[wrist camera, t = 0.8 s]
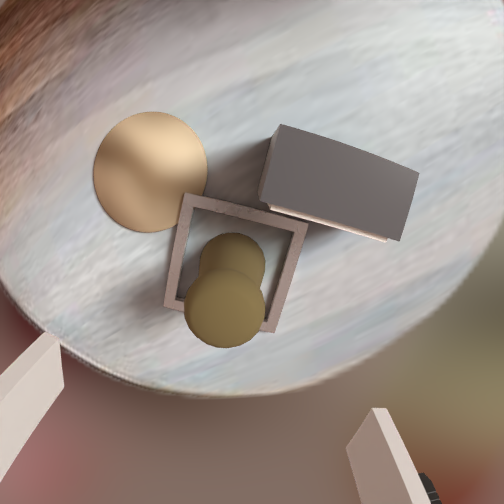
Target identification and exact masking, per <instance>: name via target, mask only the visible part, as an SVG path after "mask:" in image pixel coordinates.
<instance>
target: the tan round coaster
mask: <svg viewBox="0 0 504 504" xmlns="http://www.w3.org/2000/svg"><path fill="white" fill-rule="evenodd" d="M206 180H207V159H206V155H205V151H204V148H203V145H202V143H201V141H200V140H199V138H198V136H197V135H196V133H195V132H194V131H193V130H192V129H191V128H190V127H189V126H188V125H187V124H186V123H184V122H183V121H182V120H180V119H178V118H176V117H174V116H172V115H169V114H166V113H161V112H144V113H139V114H136V115H133V116H130V117H128V118H126V119H124V120H123V121H121V122H120V123H118V124H117V125H116V126H115V127H114V128H113V129H112V130H111V131H110V132H109V133H108V134H107V136H106V137H105V138H104V140H103V142H102V143H101V145H100V147H99V150H98V152H97V155H96V159H95V164H94V185H95V189H96V193H97V196H98V198H99V200H100V202H101V204H102V206H103V207H104V209H105V210H106V212H107V213H108V214H109V215H110V216H111V217H112V218H113V219H114V220H115V221H116V222H118V223H119V224H121V225H123V226H125V227H127V228H129V229H132V230H135V231H140V232H157V231H162V230H165V229H168V228H170V227H172V226H174V225H176V224H178V222H179V217H180V213H181V208H182V203H183V199H184V194H185V192H188V193H192V194H196V195H200V196H202V194H203V192H204V188H205V185H206ZM194 208H195V207H194Z"/></svg>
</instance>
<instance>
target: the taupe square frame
mask: <svg viewBox="0 0 504 504" xmlns="http://www.w3.org/2000/svg"><path fill="white" fill-rule="evenodd" d="M194 207H198V208H202V209H206V210H210V211H214V212H218V213H222V214H226V215H230V216H234V217H238V218H242V219H246V220H250V221H254V222H258V223H262V224H266V225H270V226H274V227H277V228H281V229H285V230H289V231H293V234H292V237H291V241H290V244H289V247H288V251H287V254H286V258H285V261H284V264H283V268H282V271H281V274H280V277H279V281H278V284H277V287H276V291H275V294H274V297H273V300H272V304H271V307H270V310H269V313H268V316H267V318H264V320H263V322H262V325H261V327H260V329H259V330H261V331H266V332H271V333H275V330H276V327H277V324H278V321H279V318H280V315H281V312H282V309H283V306H284V303H285V299H286V296H287V293H288V290H289V287H290V284H291V281H292V278H293V274H294V271H295V268H296V265H297V262H298V258H299V255H300V252H301V248H302V245H303V242H304V239H305V235H306V232H307V228H308V225H309V224H308V223H307V222H304V221H300V220H297V219H293V218H289V217H285V216H282V215H278V214H274V213H270V212H266V211H263V210H259V209H255V208H251V207H247V206H243V205H239V204H235V203H231V202H227V201H223V200H219V199H215V198H210V197H206V196H200V195H196V194H192V193H188V192H185V194H184V199H183V203H182V208H181V213H180V217H179V222H178V227H177V232H176V237H175V242H174V247H173V252H172V258H171V263H170V269H169V274H168V280H167V286H166V292H165V298H164V305H163V307H167V308H171V309H175V310H178V311H182V312H184V300H185V299H184V298H180V297H177V291H178V286H179V280H180V275H181V270H182V265H183V260H184V255H185V250H186V245H187V240H188V235H189V230H190V226H191V221H192V217H193V212H194Z"/></svg>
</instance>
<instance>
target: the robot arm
mask: <svg viewBox="0 0 504 504" xmlns="http://www.w3.org/2000/svg"><path fill="white" fill-rule="evenodd" d="M63 388H64V381H63V374H62V364H61V354H60V342H59V338H58V337H55V336H53V335H50V334H48V333H46V332H44V333H43V334H42V335H41V336H40V337H39V338H38V339H37V340H36V341H35V342H34V343H33V344H31V346H29V347H28V348H27V349H26V350H25V351H24V352H23V353H22V354H21V355H20V356H19V357H18V358H17V359H16V360H15V361H14V362H13V363H12V364H11V365H10V366H9V367H8V368H7V369H6V370H5V371H4V372H3V373H2V374H1V375H0V482H1V480H2V479H3V477H4V475H5V474H6V472H7V470H8V469H9V467H10V466H11V464H12V462H13V461H14V459H15V458H16V456H17V455H18V453H19V452H20V450H21V449H22V447H23V445H24V444H25V442H26V441H27V439H28V438H29V436H30V435H31V433H32V432H33V431H34V429H35V428H36V426H37V425H38V423H39V422H40V420H41V419H42V417H43V416H44V414H45V413H46V412H47V410H48V409H49V408H50V406H51V405H52V403H53V402H54V400H55V399H56V397H57V396H58V395H59V394H60V392H61V391H62V389H63ZM346 451H347V454H348V458H349V461H350V464H351V468H352V471H353V475H354V478H355V482H356V485H357V489H358V492H359V495H360V499H361V503H362V504H442V503H441V501H440V500H439V496H438V494H437V493H436V490H435V488H434V486H433V483H432V481H431V480H430V479H429V478H428V477H427V476H426V475H425V474H424V473H419V474H418V473H417V471H416V469H415V467H414V465H413V463H412V461H411V458H410V456H409V454H408V452H407V450H406V448H405V446H404V443H403V441H402V439H401V437H400V435H399V433H398V431H397V429H396V427H395V425H394V423H393V421H392V419H391V417H390V415H389V413H388V411H387V409H386V408H372V409H371V410H370V412H369V414H368V415H367V417H366V418H365V420H364V421H363V423H362V425H361V426H360V428H359V429H358V431H357V432H356V434H355V435H354V437H353V438H352V440H351V441H350V442H349V444H348V445H347V447H346Z"/></svg>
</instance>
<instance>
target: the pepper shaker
mask: <svg viewBox="0 0 504 504" xmlns="http://www.w3.org/2000/svg"><path fill="white" fill-rule="evenodd" d="M264 272H265V258H264V254H263V251H262V250H261V248H260V247H259V245H258V244H257V243H256V242H255V241H254V240H252V239H251V238H250V237H248V236H245V235H243V234H240V233H225V234H221V235H218V236H216V237H215V238H213V239H212V240H210V241H209V242H208V244H207V245H206V246H205V247H204V249H203V251H202V254H201V257H200V264H199V276H198V278H197V279H196V280H195V281H194V282H193V284H192V285H191V286H190V287H189V289H188V291H187V294H186V297H185V300H184V316H185V320H186V322H187V325H188V327H189V329H190V330H191V331H192V332H193V334H194V335H195V336H196V337H197V338H199V339H200V340H202V341H203V342H205V343H206V344H208V345H211V346H214V347H218V348H231V347H236V346H240V345H242V344H244V343H246V342H248V341H249V340H251V339H252V338H253V337H254V336H255V335H256V334H257V333H258V331H259V329H260V327H261V325H262V322H263V320H264V317H265V302H264V298H263V295H262V291H261V290H260V286H261V283H262V279H263V276H264Z"/></svg>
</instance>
